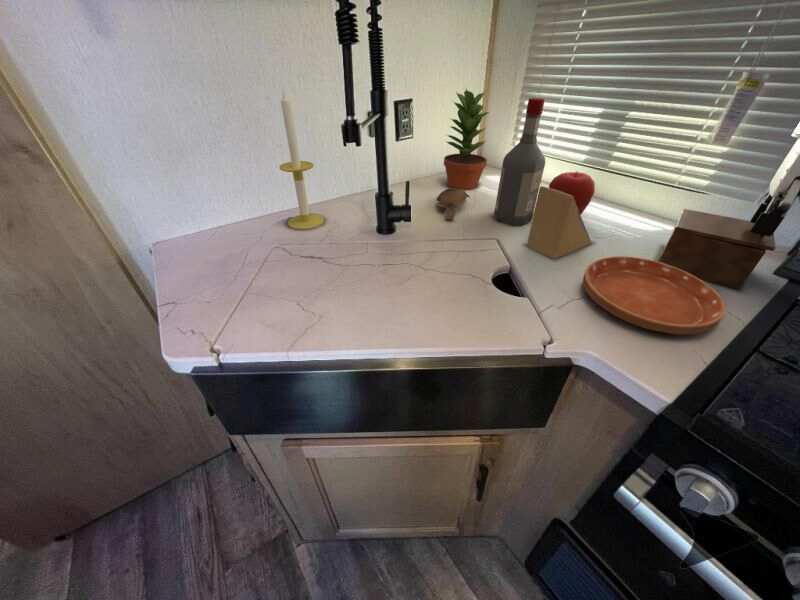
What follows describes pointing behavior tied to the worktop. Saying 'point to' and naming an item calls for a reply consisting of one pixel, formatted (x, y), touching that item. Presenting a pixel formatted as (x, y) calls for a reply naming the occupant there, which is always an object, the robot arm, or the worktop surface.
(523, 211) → the liquor
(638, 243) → the worktop surface
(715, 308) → the saucer
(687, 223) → the bread lid
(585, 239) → the sandwich container
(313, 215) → the candle
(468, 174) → the potted plant
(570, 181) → the apple
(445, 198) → the toy tortoise
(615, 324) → the worktop surface
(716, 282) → the bin
